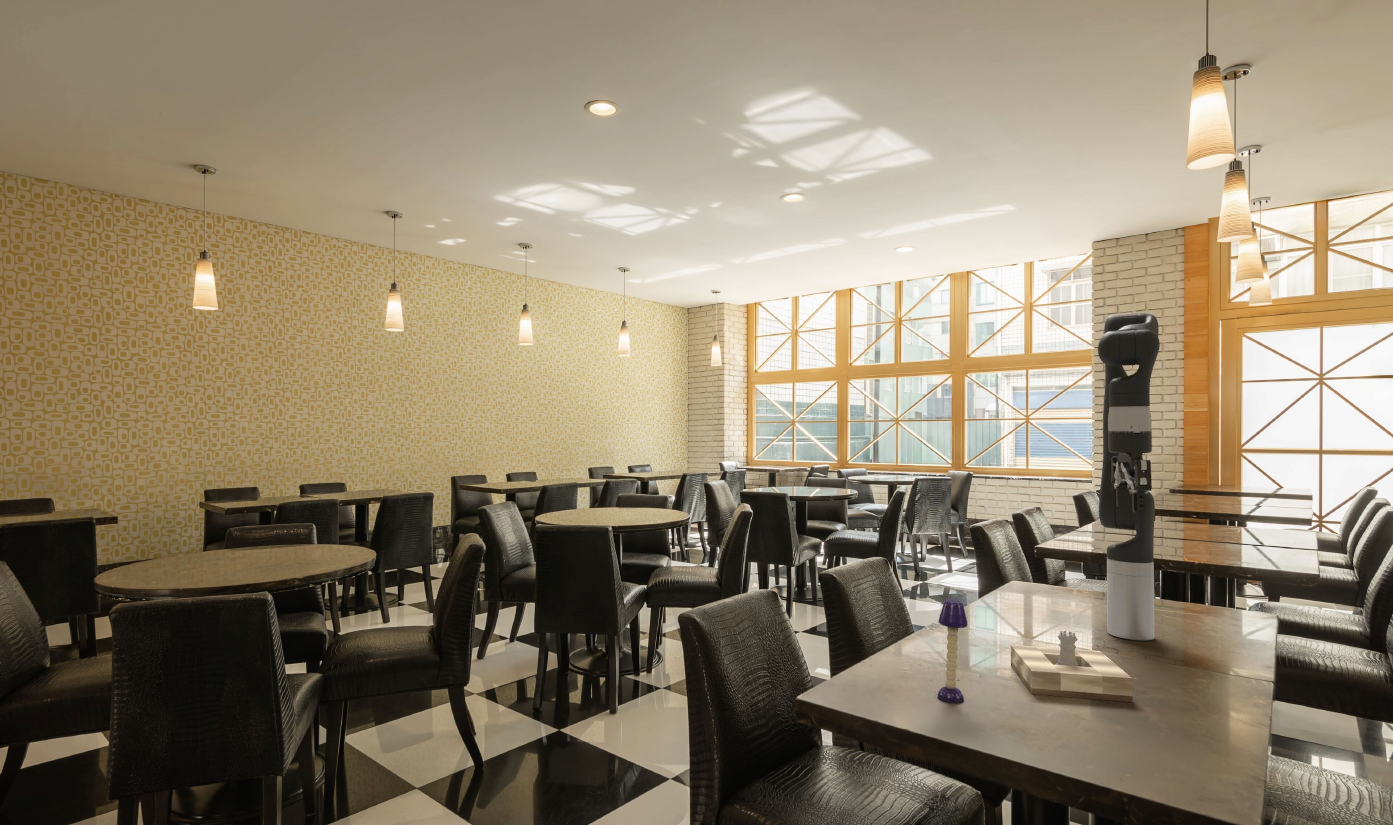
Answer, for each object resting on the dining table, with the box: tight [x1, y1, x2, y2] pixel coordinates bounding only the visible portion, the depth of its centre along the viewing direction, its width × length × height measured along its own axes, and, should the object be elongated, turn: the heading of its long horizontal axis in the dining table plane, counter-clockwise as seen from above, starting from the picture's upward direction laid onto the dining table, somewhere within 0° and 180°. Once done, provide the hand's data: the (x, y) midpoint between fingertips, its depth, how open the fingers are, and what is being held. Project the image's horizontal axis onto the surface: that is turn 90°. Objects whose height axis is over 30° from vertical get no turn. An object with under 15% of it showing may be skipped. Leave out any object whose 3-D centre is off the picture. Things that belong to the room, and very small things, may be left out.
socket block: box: [1010, 644, 1134, 703], centre depth 130 cm, size 16×16×4 cm
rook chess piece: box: [1056, 630, 1078, 666], centre depth 130 cm, size 4×4×8 cm
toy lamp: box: [937, 598, 968, 704], centre depth 121 cm, size 5×5×17 cm
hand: (1130, 509), depth 143 cm, fingers open, 8 cm apart
